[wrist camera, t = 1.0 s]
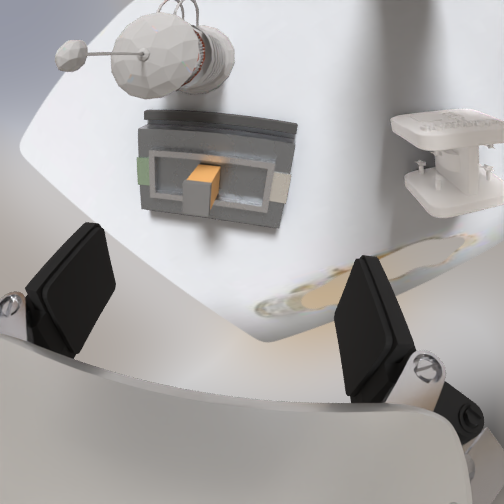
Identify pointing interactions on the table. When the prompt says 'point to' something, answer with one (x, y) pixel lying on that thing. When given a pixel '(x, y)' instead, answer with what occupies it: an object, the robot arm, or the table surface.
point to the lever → (201, 190)
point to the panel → (231, 173)
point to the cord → (221, 119)
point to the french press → (161, 56)
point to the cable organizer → (452, 160)
